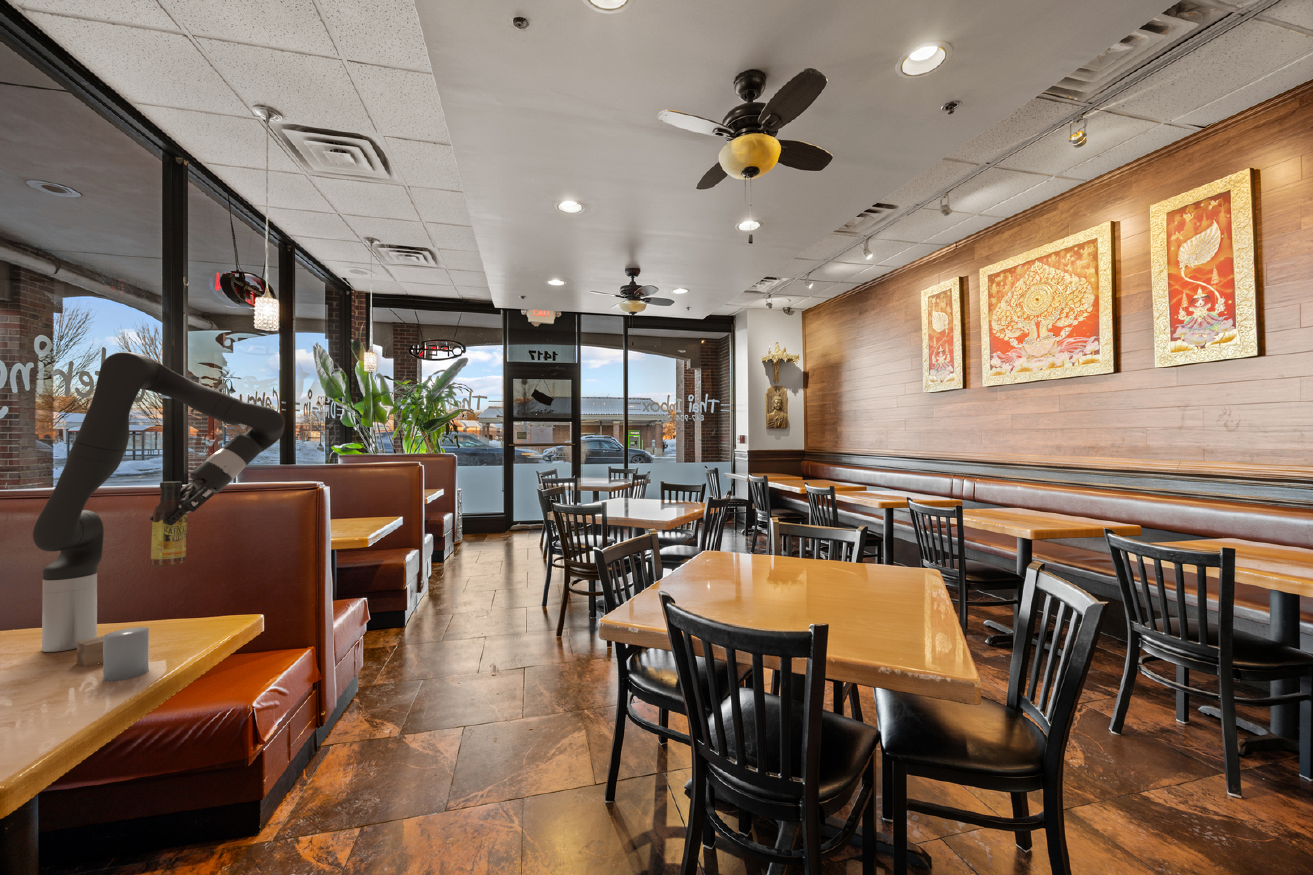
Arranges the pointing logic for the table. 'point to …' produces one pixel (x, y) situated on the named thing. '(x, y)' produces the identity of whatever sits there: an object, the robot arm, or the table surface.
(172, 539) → the sauce bottle
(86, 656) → the walnut block
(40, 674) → the table surface
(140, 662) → the grey rounded cylinder
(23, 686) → the table surface
